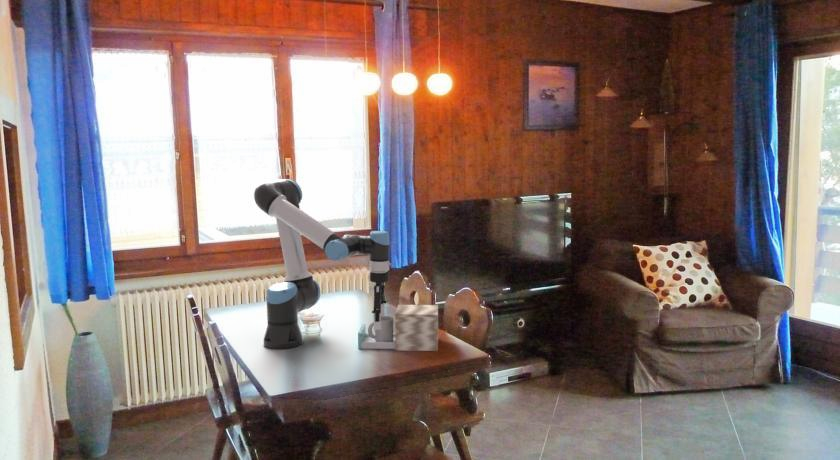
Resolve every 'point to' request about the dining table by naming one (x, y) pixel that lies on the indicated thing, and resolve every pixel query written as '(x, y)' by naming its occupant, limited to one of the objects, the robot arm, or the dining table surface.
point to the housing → (416, 327)
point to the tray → (373, 341)
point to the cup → (383, 330)
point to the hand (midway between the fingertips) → (379, 324)
